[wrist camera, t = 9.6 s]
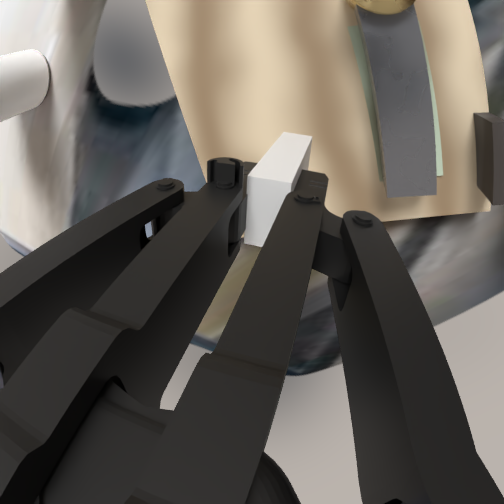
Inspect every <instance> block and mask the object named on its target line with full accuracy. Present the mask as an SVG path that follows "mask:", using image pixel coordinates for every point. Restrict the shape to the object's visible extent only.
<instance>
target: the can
mask: <svg viewBox="0 0 504 504" xmlns="http://www.w3.org/2000/svg"><path fill="white" fill-rule="evenodd" d="M49 82H50V72H49V66H48V63H47V61H46V59H45V57H44V56H43V55H42V54H41V53H40V52H39V51H37V50H34V49H29V50H24V51H19V52H14V53H10V54H5V55H1V56H0V122H2V121H4V120H6V119H9V118H11V117H14V116H16V115H18V114H21V113H23V112H26V111H28V110H31V109H33V108H35V107H37V106H39V105H40V104H41V102H42V101H43V99H44V98H45V96H46V93H47V91H48V88H49Z"/></svg>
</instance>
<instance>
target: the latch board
mask: <svg viewBox="0 0 504 504" xmlns="http://www.w3.org/2000/svg"><path fill="white" fill-rule="evenodd" d="M145 1H146V5H147V7H148V11H149V14H150V17H151V20H152V23H153V26H154V29H155V32H156V36H157V39H158V42H159V45H160V48H161V51H162V54H163V57H164V60H165V63H166V66H167V69H168V72H169V75H170V78H171V81H172V84H173V87H174V90H175V93H176V96H177V99H178V102H179V105H180V107H181V110H182V113H183V116H184V119H185V122H186V125H187V128H188V131H189V134H190V137H191V140H192V142H193V145H194V148H195V151H196V154H197V157H198V160H199V163H200V165H201V168H202V171H203V174H204V177H205V180H206V182H207V161H208V160H210V159H213V158H219V157H231V158H236V159H239V160H241V161H243V162H245V161H247V162H254V163H258V162H259V161H260V160H261V159H262V157H263V156H264V155H265V154H266V152H267V151H268V150H269V149H270V148H271V146H272V145H273V144H274V143H275V142H276V140H277V139H278V138H279V137H280V136H281V134H282V133H283V132H288V133H295V134H301V135H307V136H312V144H311V152H310V159H309V167H308V171H314V172H319V173H324V174H326V176H327V177H328V178H329V181H328V187H327V193H326V198H325V207H326V209H327V210H328V211H329V212H331V213H333V214H334V215H336V216H339V217H341V218H343V214H344V213H345V212H347V211H351V210H359V211H366V212H367V213H368V212H369V213H371V214H373V215H374V216H376V217H377V218H379V220H380V221H381V222H384V221H393V220H403V219H413V218H423V217H433V216H443V215H454V214H464V213H475V212H486V211H490V204H492V205H503V204H504V120H503V119H501V118H499V117H497V116H495V115H493V114H491V113H489V109H488V99H487V91H486V83H485V76H484V70H483V64H482V59H481V53H480V48H479V43H478V39H477V34H476V30H475V26H474V22H473V18H472V14H471V11H470V7H469V4H468V0H416V1H415V2H414V6H415V10H416V14H417V18H418V23H419V27H420V32H421V36H422V41H423V46H424V52H425V57H426V63H427V69H428V76H429V83H430V90H431V98H432V107H433V117H434V129H435V144H436V169H437V195H428V196H411V197H394V198H387V194H386V191H385V187H384V184H383V175H382V165H381V155H380V146H379V137H378V130H377V122H376V115H375V108H374V102H373V96H372V90H371V84H370V79H369V73H368V68H367V63H366V58H365V54H364V49H363V44H362V40H361V36H360V31H359V27H358V23H357V19H356V15H355V12H354V10H353V9H352V8H351V7H350V6H349V5H348V4H347V2H346V1H345V0H145ZM241 237H244V233H243V235H242V236H241Z"/></svg>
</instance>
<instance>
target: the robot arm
mask: <svg viewBox="0 0 504 504" xmlns="http://www.w3.org/2000/svg"><path fill="white" fill-rule="evenodd" d="M311 144H312V136H307V135H301V134H295V133H288V132H283V133H282V134H281V136H280V137H279V138H278V139H277V140H276V142H275V143H274V144H273V145H272V146H271V148H270V149H269V150H268V151H267V152H266V154H265V155H264V156H263V157H262V159H261V160H260V161H259V162H258V163H254V162H247V161H245V162H243V161H241V160H239V159H236V158H231V157H219V158H213V159H210V160H208V161H207V183H206V184H205V185H204V186H203V187H202V188H201V189H200V190H199V191H198V192H184V184H183V182H182V181H179V180H176V179H172V178H164V179H162V180H157V181H154V182H152V183H150V184H148V185H146V186H144V187H142V188H140V189H138V190H137V191H135V192H133V193H131V194H129V195H127V196H125V197H123V198H122V199H120V200H118V201H116V202H114V203H112V204H111V205H109V206H107V207H105V208H103V209H102V210H100V211H98V212H96V213H95V214H93V215H91V216H89V217H88V218H86V219H84V220H82V221H81V222H79V223H77V224H76V225H74V226H72V227H71V228H69V229H67V230H66V231H64V232H62V233H61V234H59V235H58V236H56V237H54V238H53V239H51V240H50V241H48V242H46V243H45V244H43V245H42V246H40V247H39V248H37V249H36V250H34V251H33V252H31V253H29V254H28V255H26V256H25V257H23V258H22V259H21V260H19V261H18V262H16V263H15V264H13V265H12V266H10V267H9V268H7V269H6V270H5V271H3V272H2V273H0V504H301V503H300V501H299V499H298V497H297V495H296V493H295V491H294V489H293V487H292V485H291V483H290V482H289V479H288V478H287V476H286V475H285V473H284V472H283V471H282V469H281V468H280V467H279V466H278V465H277V464H276V462H275V461H274V460H273V459H272V458H270V457H269V456H268V455H267V454H266V453H265V452H264V448H265V445H266V442H267V439H268V436H269V432H270V429H271V425H272V422H273V418H274V415H275V412H276V408H277V405H278V401H279V398H280V394H281V391H282V387H283V383H284V380H285V376H286V372H287V368H288V365H289V361H290V357H291V353H292V349H293V345H294V341H295V337H296V333H297V329H298V325H299V321H300V317H301V313H302V309H303V304H304V300H305V296H306V292H307V287H308V283H309V279H310V274H311V269H314V270H316V271H319V272H321V273H323V274H325V275H327V276H328V288H329V292H330V297H331V302H332V307H333V312H334V318H335V323H336V328H337V333H338V339H339V344H340V350H341V356H342V362H343V368H344V374H345V379H346V386H347V393H348V399H349V406H350V413H351V420H352V427H353V434H354V443H355V451H356V460H357V468H358V478H359V486H360V492H361V497H362V502H363V504H504V497H503V495H502V494H501V492H500V490H499V489H498V487H497V485H496V483H495V482H494V480H493V478H492V477H491V475H490V473H489V472H488V470H487V469H486V467H485V465H484V464H483V462H482V460H481V459H480V457H479V456H478V454H477V452H476V449H475V445H474V441H473V438H472V434H471V431H470V427H469V424H468V421H467V417H466V414H465V411H464V408H463V405H462V402H461V399H460V396H459V393H458V390H457V387H456V384H455V381H454V379H453V376H452V373H451V370H450V368H449V365H448V362H447V360H446V357H445V355H444V352H443V349H442V347H441V345H440V342H439V340H438V337H437V335H436V332H435V330H434V328H433V325H432V323H431V321H430V318H429V316H428V314H427V311H426V309H425V307H424V305H423V303H422V300H421V298H420V296H419V294H418V292H417V290H416V288H415V285H414V283H413V281H412V279H411V277H410V275H409V273H408V271H407V269H406V267H405V265H404V263H403V261H402V259H401V257H400V255H399V253H398V251H397V249H396V247H395V246H394V244H393V242H392V240H391V238H390V236H389V234H388V233H387V231H386V229H385V227H384V225H383V223H382V222H381V221H380V220H379V218H377V217H376V216H374V215H373V214H371V213H369V212H368V213H367V212H366V211H359V210H351V211H347V212H345V213H344V214H343V218H341V217H339V216H336V215H334V214H333V213H331V212H329V211H328V210H327V209H326V207H325V198H326V193H327V187H328V181H329V178H328V177H327V176H326V174H324V173H319V172H314V171H308V167H309V159H310V152H311ZM150 221H151V226H152V234H153V235H152V236H150V237H148V238H147V236H146V231H145V224H147V223H149V222H150ZM243 233H244V243H245V244H250V245H255V246H260V247H262V249H261V251H260V253H259V255H258V257H257V260H256V262H255V264H254V266H253V268H252V270H251V273H250V275H249V277H248V279H247V281H246V283H245V286H244V288H243V290H242V292H241V294H240V296H239V299H238V301H237V303H236V305H235V307H234V309H233V311H232V314H231V316H230V318H229V320H228V322H227V324H226V326H225V329H224V331H223V333H222V335H221V337H220V339H219V341H218V344H217V346H216V348H215V349H214V351H213V352H212V353H211V354H209V353H205V354H204V355H203V356H202V357H201V358H200V360H199V362H198V363H197V365H196V367H195V369H194V371H193V373H192V375H191V377H190V379H189V381H188V383H187V385H186V387H185V389H184V391H183V393H182V395H181V397H180V399H179V401H178V403H177V405H176V407H175V409H174V411H172V410H165V409H160V401H161V398H162V395H163V392H164V390H165V389H166V387H167V385H168V383H169V381H170V379H171V377H172V376H173V374H174V372H175V370H176V368H177V366H178V364H179V362H180V360H181V359H182V357H183V355H184V353H185V351H186V349H187V347H188V345H189V343H190V342H191V340H192V338H193V336H194V334H195V332H196V330H197V328H198V327H199V325H200V323H201V321H202V319H203V317H204V315H205V313H206V312H207V310H208V308H209V306H210V304H211V302H212V300H213V299H214V297H215V295H216V293H217V291H218V289H219V287H220V286H221V284H222V282H223V280H224V278H225V276H226V274H227V273H228V271H229V269H230V267H231V265H232V263H233V262H234V260H235V258H236V256H237V254H238V252H239V250H240V243H241V236H242V235H243Z"/></svg>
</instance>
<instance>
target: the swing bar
mask: <svg viewBox="0 0 504 504" xmlns="http://www.w3.org/2000/svg"><path fill="white" fill-rule="evenodd" d="M345 1H346V2H347V4H348V5H349V6H350V7H351V8H352V9H353V10H354V12H355V15H356V19H357V23H358V27H359V31H360V36H361V40H362V44H363V49H364V54H365V58H366V63H367V68H368V73H369V79H370V84H371V90H372V96H373V102H374V108H375V115H376V122H377V130H378V137H379V146H380V155H381V165H382V175H383V184H384V187H385V191H386V194H387V198H394V197H411V196H428V195H437V169H436V144H435V129H434V117H433V107H432V98H431V90H430V83H429V76H428V69H427V63H426V57H425V52H424V46H423V41H422V36H421V32H420V27H419V23H418V18H417V14H416V10H415V6H414V2H415V1H416V0H345Z"/></svg>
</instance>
